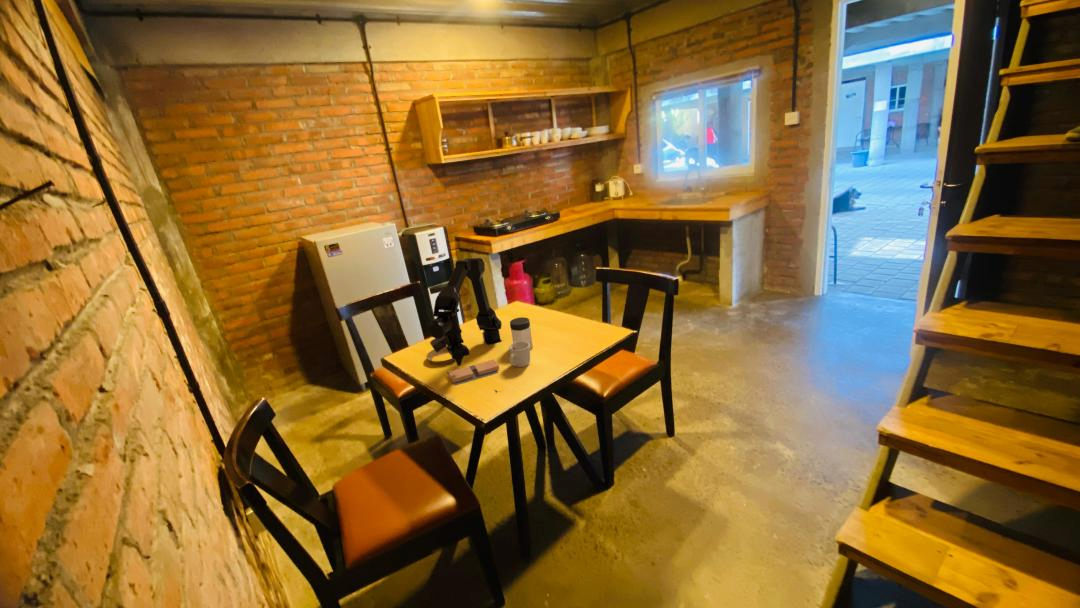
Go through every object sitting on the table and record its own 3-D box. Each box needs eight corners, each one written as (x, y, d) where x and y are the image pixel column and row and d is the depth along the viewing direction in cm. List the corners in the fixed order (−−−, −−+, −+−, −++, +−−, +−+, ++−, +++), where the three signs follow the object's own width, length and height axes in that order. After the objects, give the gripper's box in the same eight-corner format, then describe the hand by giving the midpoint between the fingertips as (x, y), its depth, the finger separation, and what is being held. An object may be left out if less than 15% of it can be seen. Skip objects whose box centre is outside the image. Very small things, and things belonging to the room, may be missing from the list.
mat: (489, 361, 181) (489, 360, 181) (498, 373, 171) (498, 372, 171) (447, 373, 176) (447, 372, 176) (454, 386, 165) (454, 385, 165)
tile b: (468, 366, 175) (473, 373, 169) (469, 369, 175) (474, 376, 170) (448, 372, 172) (452, 379, 166) (449, 375, 173) (453, 383, 167)
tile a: (493, 359, 178) (498, 365, 172) (494, 363, 179) (499, 369, 173) (473, 364, 176) (478, 371, 170) (474, 368, 176) (479, 375, 170)
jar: (509, 350, 188) (505, 324, 184) (517, 342, 195) (514, 316, 191) (528, 352, 185) (525, 325, 181) (536, 344, 192) (533, 317, 188)
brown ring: (427, 355, 194) (425, 349, 193) (461, 348, 197) (460, 342, 196) (428, 370, 180) (426, 364, 180) (464, 362, 183) (463, 356, 183)
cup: (521, 374, 168) (519, 354, 166) (503, 371, 172) (500, 352, 170) (535, 361, 177) (533, 342, 174) (518, 358, 181) (516, 340, 178)
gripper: (425, 324, 171) (433, 361, 176) (434, 341, 155) (442, 381, 160) (454, 317, 175) (461, 354, 180) (466, 333, 158) (473, 373, 163)
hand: (459, 365), depth 171 cm, fingers closed
